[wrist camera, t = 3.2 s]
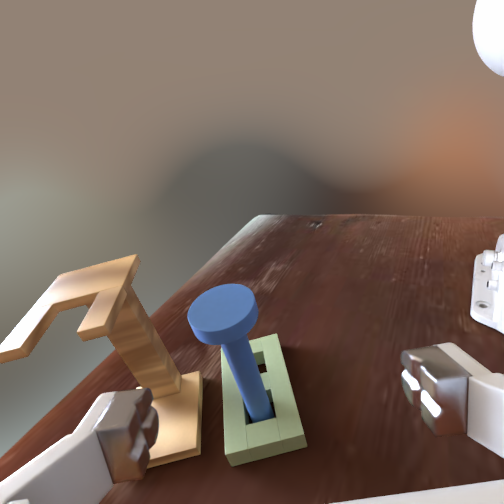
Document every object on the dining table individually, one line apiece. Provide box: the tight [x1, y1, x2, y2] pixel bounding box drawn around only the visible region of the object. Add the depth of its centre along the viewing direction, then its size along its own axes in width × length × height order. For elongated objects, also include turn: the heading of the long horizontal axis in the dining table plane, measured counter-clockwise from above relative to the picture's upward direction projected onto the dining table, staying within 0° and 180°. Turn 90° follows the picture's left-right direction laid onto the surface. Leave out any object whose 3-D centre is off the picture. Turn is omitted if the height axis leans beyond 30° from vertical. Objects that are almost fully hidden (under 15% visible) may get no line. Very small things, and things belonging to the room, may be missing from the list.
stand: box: [0, 254, 203, 468], centre depth 31 cm, size 11×9×21 cm
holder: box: [221, 334, 307, 466], centre depth 36 cm, size 8×14×2 cm, turn 8°
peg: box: [188, 284, 274, 423], centre depth 30 cm, size 6×6×18 cm
